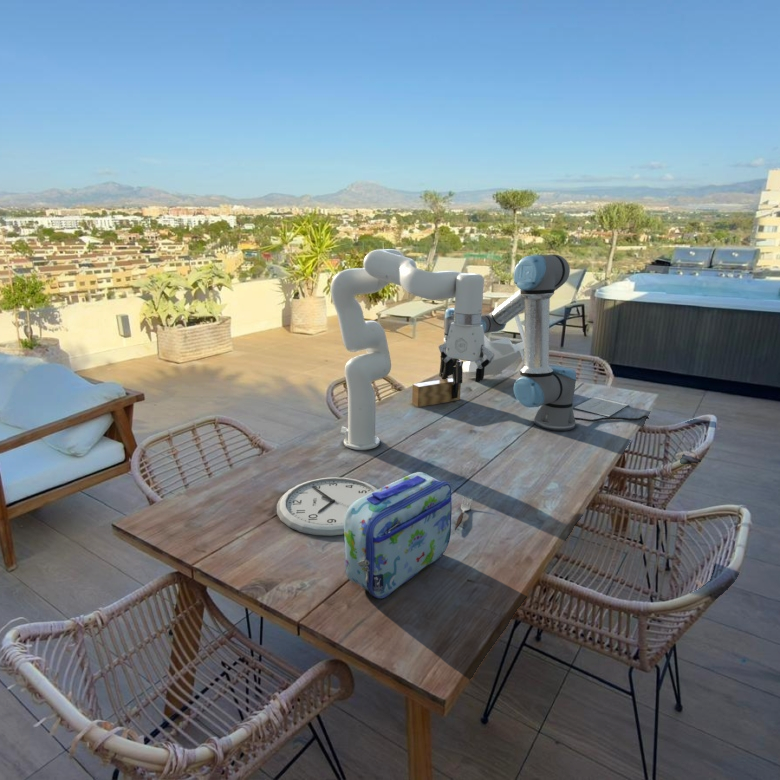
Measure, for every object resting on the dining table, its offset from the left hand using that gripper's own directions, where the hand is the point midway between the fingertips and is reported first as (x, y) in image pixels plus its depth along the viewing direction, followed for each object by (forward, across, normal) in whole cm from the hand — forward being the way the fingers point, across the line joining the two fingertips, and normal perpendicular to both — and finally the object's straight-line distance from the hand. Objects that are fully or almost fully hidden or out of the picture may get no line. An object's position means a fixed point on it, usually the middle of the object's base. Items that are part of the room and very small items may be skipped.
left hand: (463, 378), depth 151 cm
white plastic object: (+32, -34, +100) cm, 111 cm away
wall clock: (+32, -19, -36) cm, 52 cm away
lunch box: (+32, +13, -48) cm, 59 cm away
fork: (+32, +12, -20) cm, 39 cm away
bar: (+32, -44, +58) cm, 79 cm away
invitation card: (+32, +15, +98) cm, 104 cm away
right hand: (+30, -41, +64) cm, 81 cm away
